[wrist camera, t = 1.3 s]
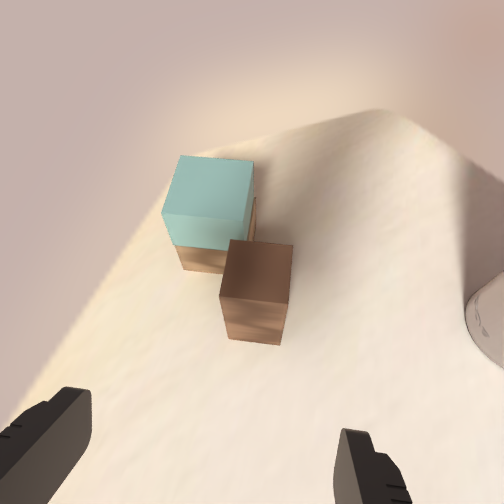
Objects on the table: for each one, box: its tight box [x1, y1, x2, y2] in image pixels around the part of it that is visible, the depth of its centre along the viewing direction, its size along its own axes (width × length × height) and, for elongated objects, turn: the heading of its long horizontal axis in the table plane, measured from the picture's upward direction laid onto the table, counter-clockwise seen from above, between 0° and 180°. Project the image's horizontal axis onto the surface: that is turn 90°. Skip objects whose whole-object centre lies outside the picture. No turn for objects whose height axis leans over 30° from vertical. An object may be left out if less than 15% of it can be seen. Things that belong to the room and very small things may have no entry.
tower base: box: [175, 197, 256, 274], centre depth 37 cm, size 7×7×5 cm
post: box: [219, 239, 293, 345], centre depth 30 cm, size 5×5×10 cm
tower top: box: [161, 155, 254, 251], centre depth 33 cm, size 7×7×5 cm
